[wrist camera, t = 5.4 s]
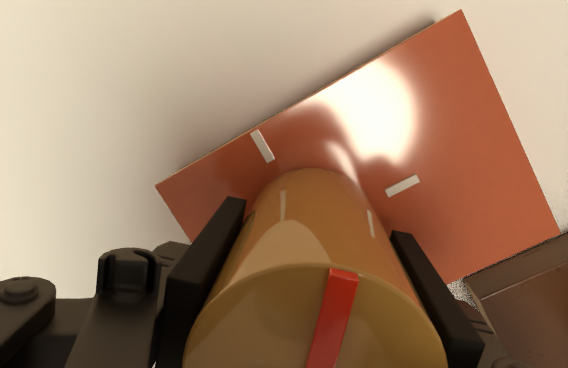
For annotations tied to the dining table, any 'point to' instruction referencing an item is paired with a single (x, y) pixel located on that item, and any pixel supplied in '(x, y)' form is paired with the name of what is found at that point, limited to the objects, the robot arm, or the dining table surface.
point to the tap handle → (313, 287)
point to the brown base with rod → (528, 303)
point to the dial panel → (396, 153)
